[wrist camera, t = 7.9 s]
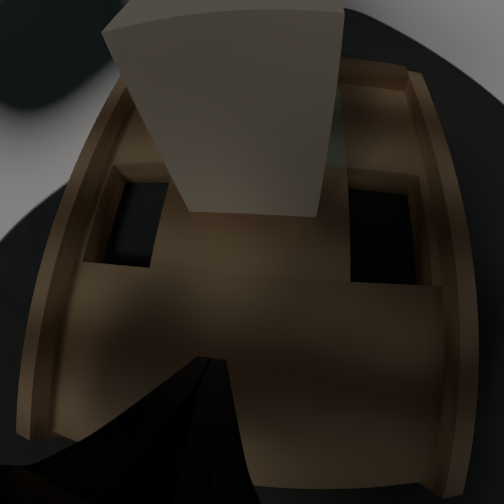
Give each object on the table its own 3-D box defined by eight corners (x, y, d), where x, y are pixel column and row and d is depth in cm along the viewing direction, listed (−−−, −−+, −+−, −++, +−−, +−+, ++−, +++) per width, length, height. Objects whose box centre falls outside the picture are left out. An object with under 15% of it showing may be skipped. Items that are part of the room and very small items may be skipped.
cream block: (316, 217, 15) (344, 13, 6) (189, 211, 15) (101, 32, 6) (315, 111, 17) (322, -50, 8) (213, 110, 18) (174, -42, 9)
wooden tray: (430, 476, 11) (462, 494, 8) (56, 429, 14) (16, 432, 10) (407, 105, 20) (419, 69, 17) (141, 99, 22) (125, 66, 19)
